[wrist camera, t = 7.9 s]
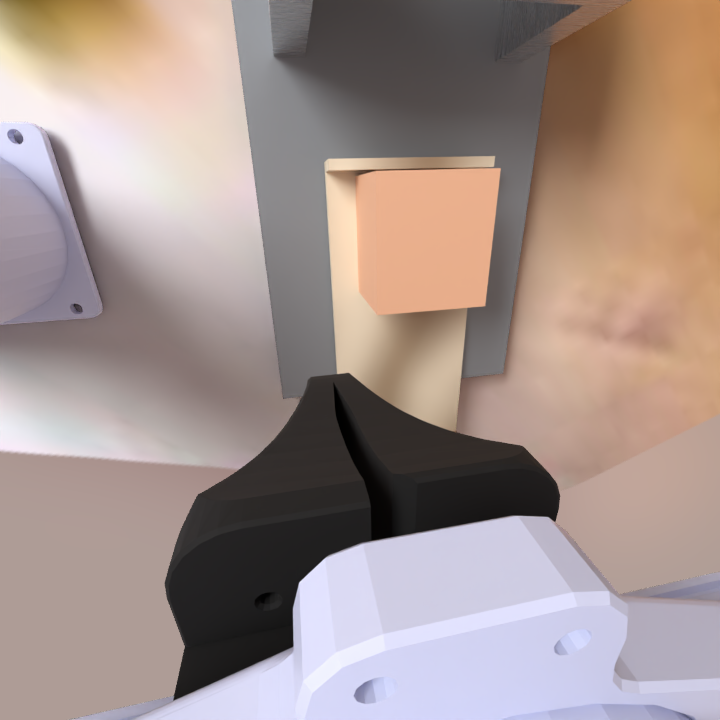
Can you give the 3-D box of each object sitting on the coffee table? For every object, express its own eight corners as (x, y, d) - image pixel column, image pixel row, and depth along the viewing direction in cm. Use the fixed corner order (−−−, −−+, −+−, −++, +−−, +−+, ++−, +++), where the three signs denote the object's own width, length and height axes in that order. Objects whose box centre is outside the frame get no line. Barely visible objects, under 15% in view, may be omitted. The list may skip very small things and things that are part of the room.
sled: (341, 456, 22) (354, 513, 18) (324, 162, 16) (337, 150, 12) (451, 440, 23) (486, 491, 19) (476, 159, 17) (535, 148, 13)
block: (358, 291, 18) (377, 315, 14) (355, 176, 16) (375, 170, 12) (446, 285, 19) (485, 306, 15) (454, 174, 17) (500, 168, 13)
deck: (283, 385, 22) (283, 398, 20) (183, -390, 11) (169, -478, 10) (489, 362, 24) (503, 373, 22) (575, -310, 13) (611, -373, 12)
